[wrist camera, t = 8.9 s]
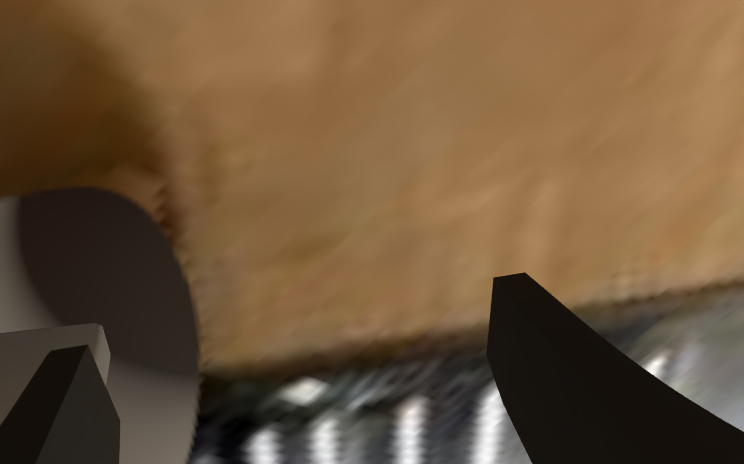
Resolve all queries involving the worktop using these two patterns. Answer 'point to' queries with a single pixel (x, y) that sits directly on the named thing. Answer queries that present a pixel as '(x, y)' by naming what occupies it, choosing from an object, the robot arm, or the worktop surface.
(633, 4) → the worktop surface
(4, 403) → the lighter
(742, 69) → the worktop surface
